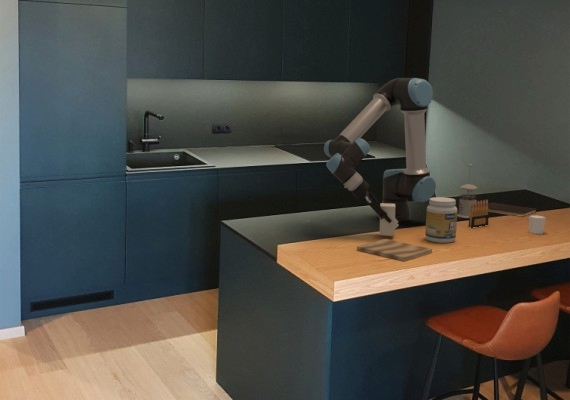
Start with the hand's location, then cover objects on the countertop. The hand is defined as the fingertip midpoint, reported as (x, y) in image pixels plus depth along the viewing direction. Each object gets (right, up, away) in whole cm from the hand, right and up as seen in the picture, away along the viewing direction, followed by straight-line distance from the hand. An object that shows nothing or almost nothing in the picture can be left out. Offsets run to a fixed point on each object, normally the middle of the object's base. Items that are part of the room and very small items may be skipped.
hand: (396, 225), depth 293 cm
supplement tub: (+18, -6, -2) cm, 19 cm away
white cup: (+62, -4, +13) cm, 63 cm away
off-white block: (-4, -3, +1) cm, 5 cm away
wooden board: (-4, -9, -22) cm, 24 cm away
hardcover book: (+64, +4, +58) cm, 86 cm away
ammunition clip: (+40, -2, +23) cm, 46 cm away
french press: (+41, +3, +46) cm, 62 cm away
